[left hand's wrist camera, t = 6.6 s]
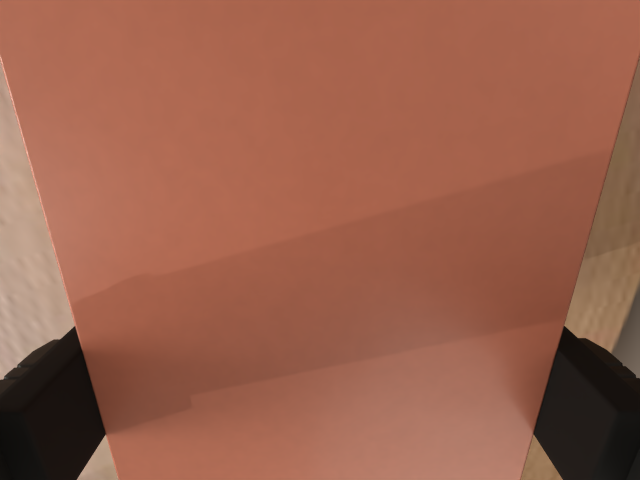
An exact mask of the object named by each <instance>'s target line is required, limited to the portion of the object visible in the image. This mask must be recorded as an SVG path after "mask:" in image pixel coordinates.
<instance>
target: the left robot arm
mask: <svg viewBox="0 0 640 480" xmlns="http://www.w3.org/2000/svg"><path fill="white" fill-rule="evenodd" d="M105 435H106V433H105V430H104V426H103V423H102V419H101V415H100V412H99V408H98V405H97V401H96V398H95V394H94V391H93V387H92V384H91V380H90V376H89V373H88V369H87V366H86V362H85V359H84V355H83V352H82V348H81V344H80V341H79V337H78V334H77V330H76V327H73V328H72V329H71V330H70V331H69V332H68V333H67V334H66V335H65V336H64V337H63V338H61V339H60V340H52V341H51V342H49V343H47V344H45V345H43V346H42V347H40V348H38V349H36V350H35V351H33V352H32V353H31V354H30V355H28V356H27V357H26V358H25V359H24V360H23V361H22V362H20V363H19V364H18V366H17V368H13V369H12V370H11V371H10V372H9V373H8V374H7V375H5V376H4V379H3V380H0V480H77V478H78V477H79V475H80V473H81V472H82V470H83V469H84V467H85V466H86V464H87V463H88V461H89V459H90V458H91V456H92V455H93V453H94V452H95V450H96V449H97V447H98V445H99V444H100V442H101V441H102V439H103V438H104V436H105ZM534 435H535V437H536V438H537V440H538V441H539V443H540V445H541V446H542V448H543V449H544V451H545V452H546V454H547V455H548V457H549V459H550V460H551V462H552V463H553V465H554V466H555V468H556V469H557V471H558V473H559V474H560V476H561V477H562V479H563V480H640V378H636V375H635V374H634V373H633V372H632V371H630V370H629V369H628V368H627V367H626V366H623V365H622V363H621V362H620V361H619V360H618V359H617V358H615V357H614V356H613V355H612V354H611V353H610V352H608V351H607V350H606V349H604V348H602V347H601V346H599V345H597V344H595V343H593V342H592V341H590V340H588V339H586V338H577V337H576V336H575V335H574V334H573V333H572V332H570V331H569V330H568V329H567V328H566V327H565V326H564V327H563V331H562V334H561V338H560V341H559V345H558V349H557V352H556V356H555V359H554V363H553V366H552V370H551V373H550V377H549V380H548V384H547V388H546V391H545V395H544V398H543V402H542V405H541V409H540V412H539V416H538V419H537V423H536V427H535V430H534Z"/></svg>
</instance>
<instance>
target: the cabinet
mask: <svg viewBox="0 0 640 480" xmlns="http://www.w3.org/2000/svg"><path fill="white" fill-rule="evenodd" d="M639 57H640V0H0V61H1V64H2V68H3V71H4V75H5V79H6V82H7V86H8V89H9V93H10V96H11V100H12V103H13V107H14V110H15V114H16V118H17V121H18V125H19V128H20V132H21V135H22V139H23V142H24V146H25V149H26V153H27V157H28V160H29V164H30V167H31V171H32V174H33V178H34V181H35V185H36V188H37V192H38V196H39V199H40V203H41V206H42V210H43V213H44V217H45V220H46V224H47V227H48V231H49V235H50V238H51V242H52V245H53V249H54V252H55V256H56V259H57V263H58V266H59V270H60V274H61V277H62V281H63V284H64V288H65V291H66V295H67V298H68V302H69V305H70V309H71V313H72V316H73V320H74V323H75V327H76V330H77V334H78V337H79V341H80V344H81V348H82V352H83V355H84V359H85V362H86V366H87V369H88V373H89V376H90V380H91V384H92V387H93V391H94V394H95V398H96V401H97V405H98V408H99V412H100V415H101V419H102V423H103V426H104V430H105V433H106V437H107V440H108V444H109V447H110V451H111V454H112V458H113V462H114V465H115V469H116V472H117V476H118V479H119V480H521V476H522V473H523V469H524V466H525V462H526V459H527V455H528V451H529V448H530V444H531V441H532V437H533V434H534V430H535V427H536V423H537V419H538V416H539V412H540V409H541V405H542V402H543V398H544V395H545V391H546V388H547V384H548V380H549V377H550V373H551V370H552V366H553V363H554V359H555V356H556V352H557V349H558V345H559V341H560V338H561V334H562V331H563V327H564V324H565V320H566V317H567V313H568V309H569V306H570V302H571V299H572V295H573V292H574V288H575V285H576V281H577V278H578V274H579V270H580V267H581V263H582V260H583V256H584V253H585V249H586V246H587V242H588V238H589V235H590V231H591V228H592V224H593V221H594V217H595V214H596V210H597V207H598V203H599V199H600V196H601V192H602V189H603V185H604V182H605V178H606V175H607V171H608V168H609V164H610V160H611V157H612V153H613V150H614V146H615V143H616V139H617V136H618V132H619V128H620V125H621V121H622V118H623V114H624V111H625V107H626V104H627V100H628V97H629V93H630V89H631V86H632V82H633V79H634V75H635V72H636V68H637V65H638V61H639Z"/></svg>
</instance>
